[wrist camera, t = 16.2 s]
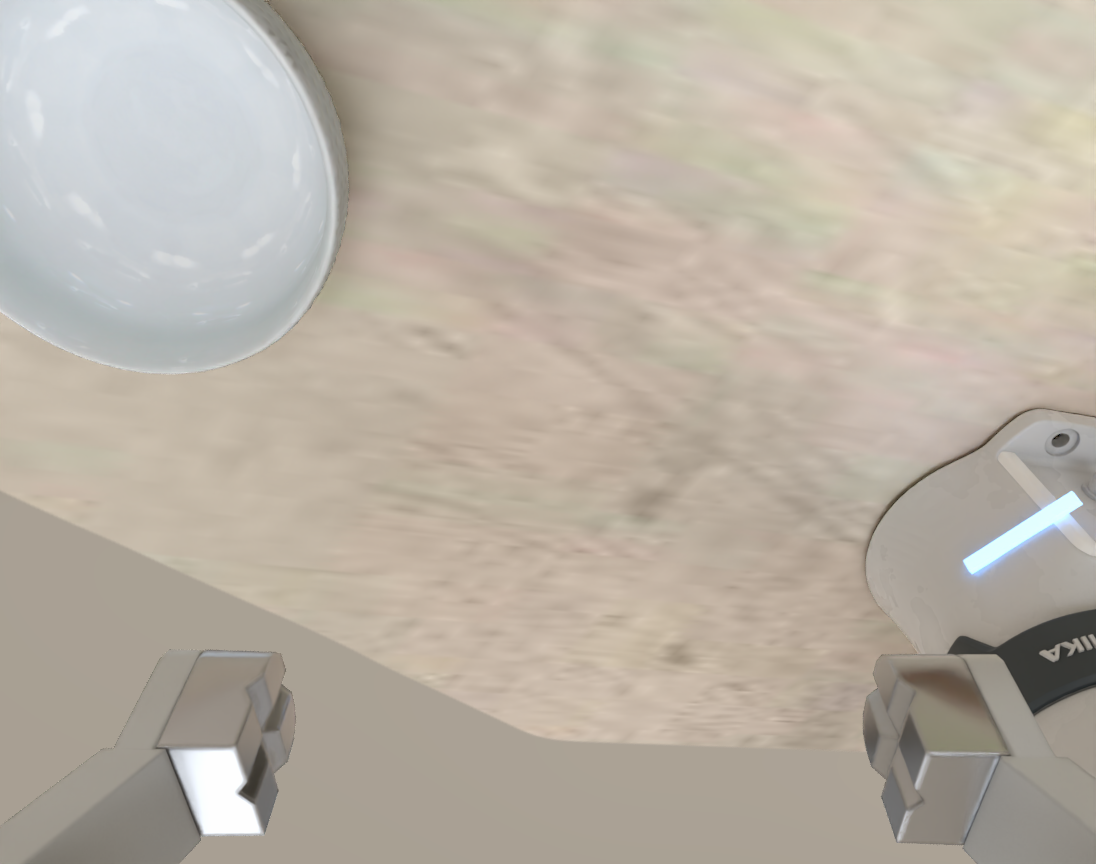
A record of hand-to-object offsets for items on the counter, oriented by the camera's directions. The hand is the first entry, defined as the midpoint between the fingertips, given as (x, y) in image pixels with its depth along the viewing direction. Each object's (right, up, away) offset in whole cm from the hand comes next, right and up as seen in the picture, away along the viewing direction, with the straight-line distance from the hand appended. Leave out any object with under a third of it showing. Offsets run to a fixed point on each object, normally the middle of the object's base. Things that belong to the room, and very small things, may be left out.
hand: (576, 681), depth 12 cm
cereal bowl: (-16, +17, +27) cm, 36 cm away
